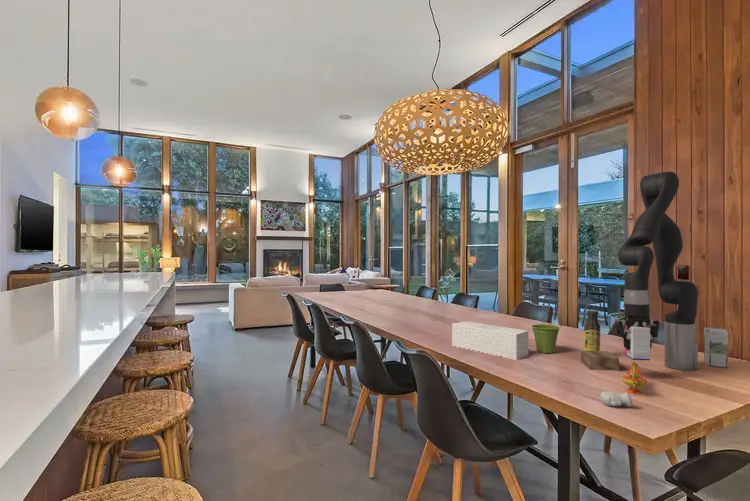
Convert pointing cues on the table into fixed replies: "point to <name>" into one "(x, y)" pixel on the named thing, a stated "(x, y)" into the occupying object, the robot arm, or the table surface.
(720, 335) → the syrup box
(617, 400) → the smooth white sculpture
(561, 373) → the table surface
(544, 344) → the plant pot
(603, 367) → the block
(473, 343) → the white textured block
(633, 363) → the magic lamp
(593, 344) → the sauce bottle
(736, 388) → the table surface
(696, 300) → the robot arm
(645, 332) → the supplement box
